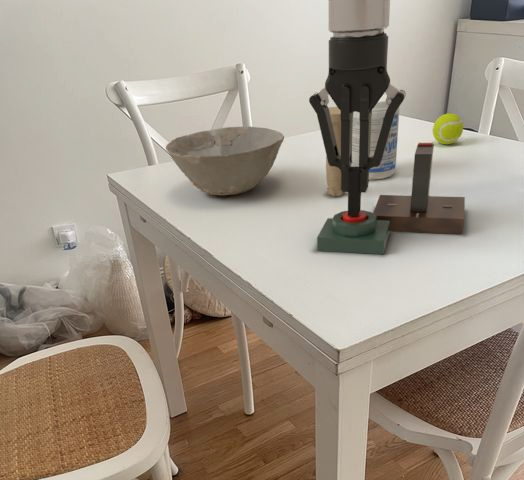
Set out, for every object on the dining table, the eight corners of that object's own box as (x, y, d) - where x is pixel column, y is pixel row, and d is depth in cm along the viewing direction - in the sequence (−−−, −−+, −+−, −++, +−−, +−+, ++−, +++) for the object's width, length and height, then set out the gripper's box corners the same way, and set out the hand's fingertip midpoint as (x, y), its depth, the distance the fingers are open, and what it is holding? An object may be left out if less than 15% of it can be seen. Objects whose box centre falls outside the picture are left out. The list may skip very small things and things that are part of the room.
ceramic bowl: (307, 190, 106) (306, 137, 101) (203, 219, 98) (195, 163, 92) (252, 167, 123) (248, 120, 117) (158, 190, 114) (149, 141, 108)
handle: (347, 188, 106) (348, 105, 97) (350, 198, 100) (352, 113, 92) (322, 189, 106) (321, 107, 98) (324, 200, 101) (324, 115, 92)
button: (367, 221, 84) (368, 210, 83) (364, 230, 81) (364, 219, 80) (344, 220, 85) (344, 209, 84) (340, 229, 82) (340, 218, 81)
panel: (462, 211, 91) (464, 195, 90) (462, 234, 83) (464, 218, 82) (379, 208, 95) (379, 193, 94) (371, 230, 87) (371, 214, 86)
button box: (389, 233, 86) (390, 209, 84) (383, 254, 80) (384, 229, 77) (327, 230, 89) (327, 207, 86) (317, 250, 83) (316, 226, 80)
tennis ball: (460, 140, 128) (464, 110, 125) (462, 147, 123) (466, 116, 119) (431, 140, 130) (433, 111, 126) (431, 148, 125) (434, 117, 121)
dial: (426, 212, 85) (432, 152, 80) (409, 212, 86) (414, 152, 81) (428, 199, 90) (434, 142, 85) (412, 199, 91) (417, 142, 85)
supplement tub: (390, 182, 107) (395, 102, 98) (343, 180, 110) (344, 102, 102) (399, 168, 114) (404, 92, 106) (354, 166, 117) (356, 93, 109)
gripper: (413, 27, 69) (400, 205, 83) (314, 33, 73) (317, 202, 86) (408, 33, 63) (395, 223, 77) (301, 39, 67) (306, 220, 80)
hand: (354, 212), depth 82 cm, fingers closed
